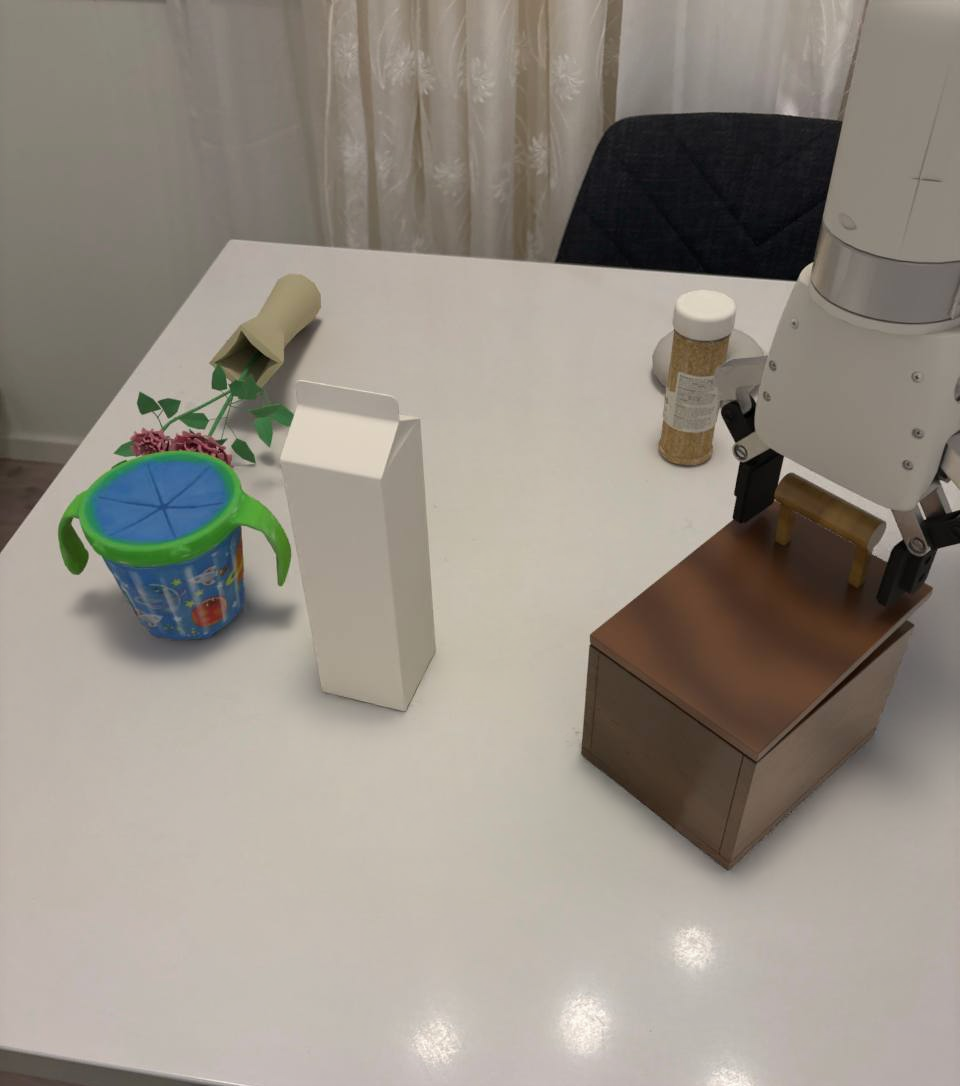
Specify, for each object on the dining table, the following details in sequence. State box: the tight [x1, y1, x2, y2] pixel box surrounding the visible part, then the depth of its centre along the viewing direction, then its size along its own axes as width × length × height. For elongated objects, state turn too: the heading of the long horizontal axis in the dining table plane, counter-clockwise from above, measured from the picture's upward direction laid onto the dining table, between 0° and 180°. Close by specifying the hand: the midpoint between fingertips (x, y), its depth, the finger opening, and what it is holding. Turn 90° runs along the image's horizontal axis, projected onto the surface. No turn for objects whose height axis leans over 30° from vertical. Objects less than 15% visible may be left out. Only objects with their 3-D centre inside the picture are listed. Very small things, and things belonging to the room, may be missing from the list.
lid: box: [589, 472, 934, 762], centre depth 58 cm, size 15×12×6 cm
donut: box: [651, 328, 765, 392], centre depth 96 cm, size 10×4×10 cm
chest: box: [580, 619, 916, 871], centre depth 64 cm, size 15×12×10 cm
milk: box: [279, 379, 437, 712], centre depth 65 cm, size 6×6×22 cm
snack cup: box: [57, 451, 292, 641], centre depth 74 cm, size 16×10×10 cm
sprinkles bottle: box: [658, 289, 737, 466], centre depth 85 cm, size 5×5×14 cm
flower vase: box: [110, 273, 322, 470], centre depth 91 cm, size 12×12×35 cm
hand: (821, 550), depth 61 cm, fingers open, 9 cm apart
